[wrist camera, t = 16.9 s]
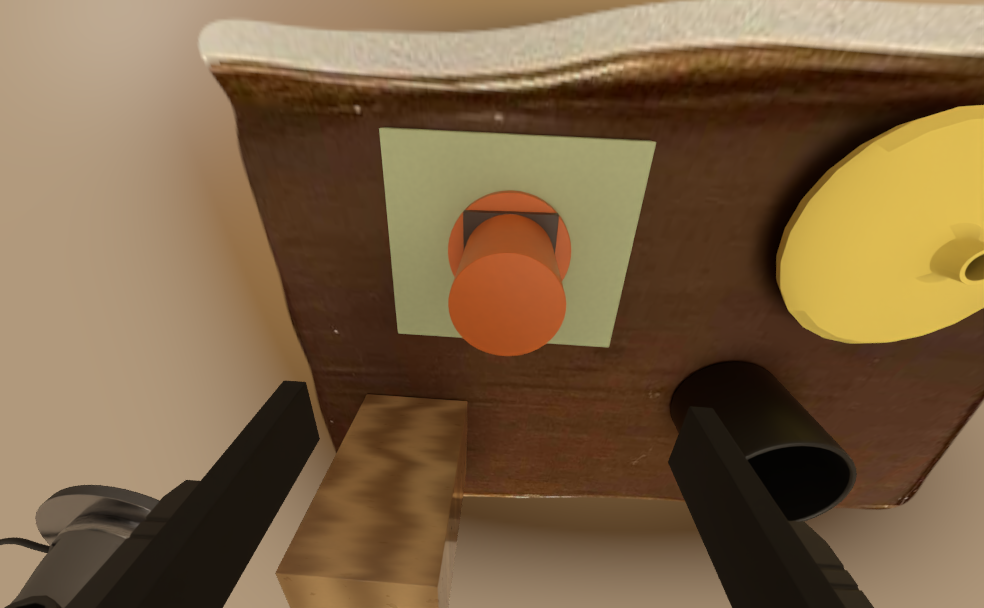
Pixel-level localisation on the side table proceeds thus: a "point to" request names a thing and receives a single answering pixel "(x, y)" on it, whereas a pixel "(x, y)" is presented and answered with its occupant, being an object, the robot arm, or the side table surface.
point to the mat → (519, 167)
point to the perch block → (384, 511)
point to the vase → (891, 235)
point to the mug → (772, 436)
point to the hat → (508, 273)
